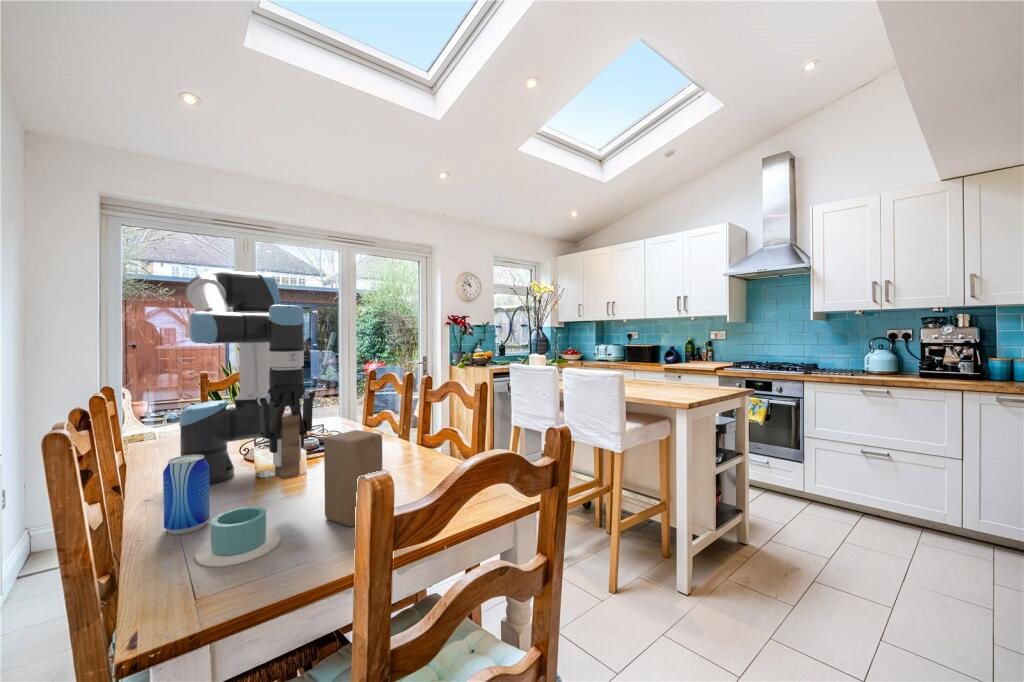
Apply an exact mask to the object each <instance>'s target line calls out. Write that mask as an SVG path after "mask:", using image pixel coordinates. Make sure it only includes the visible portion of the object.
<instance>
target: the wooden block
mask: <svg viewBox="0 0 1024 682" xmlns="http://www.w3.org/2000/svg"><path fill="white" fill-rule="evenodd" d="M323 444H324V445H323V447H324V448H323V449H324V451H323V452H324V453H323V454H324V457H323V458H324V460H323V461H324V464H323V465H324V516H325V518H326V520H328V521H332V522H335V523H338V524H341V525H344V526H346V527H350V526H352V527H354V526H356V525H355V507H356V492H357V479H358V477H359V476H361V475H365V474H368V473H372V472H376V471H381V470H382V471H383V436H382V434H381V433H377V432H370V431H365V430H358V429H353V430H350V431H347V432H342V433H338V434H333V435H329V436H327V437H325V438H324V442H323Z"/></svg>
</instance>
